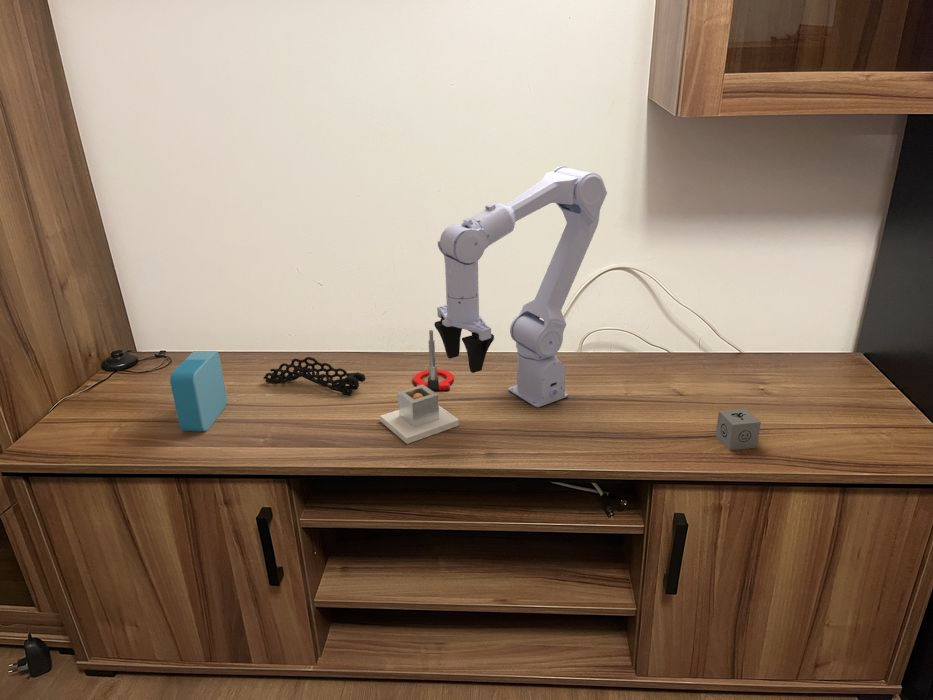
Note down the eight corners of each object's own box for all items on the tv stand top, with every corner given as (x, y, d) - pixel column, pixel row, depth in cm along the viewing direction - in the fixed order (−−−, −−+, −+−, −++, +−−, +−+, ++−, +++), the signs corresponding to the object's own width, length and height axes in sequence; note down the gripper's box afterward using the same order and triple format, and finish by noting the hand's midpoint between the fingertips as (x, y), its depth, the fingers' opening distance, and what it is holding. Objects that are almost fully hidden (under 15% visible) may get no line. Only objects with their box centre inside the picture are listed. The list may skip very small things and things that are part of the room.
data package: (206, 403, 143) (195, 348, 138) (228, 403, 142) (218, 348, 137) (180, 434, 132) (168, 375, 127) (204, 434, 131) (193, 375, 126)
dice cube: (742, 433, 127) (746, 408, 125) (756, 447, 123) (760, 422, 121) (715, 435, 127) (718, 410, 125) (729, 450, 122) (732, 425, 120)
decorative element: (261, 387, 149) (257, 361, 147) (274, 376, 154) (271, 351, 151) (360, 400, 143) (358, 373, 141) (371, 388, 147) (368, 363, 145)
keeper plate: (459, 425, 132) (458, 395, 130) (406, 444, 126) (404, 413, 124) (430, 404, 140) (429, 376, 137) (380, 421, 134) (378, 391, 132)
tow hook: (414, 375, 153) (412, 392, 145) (411, 317, 149) (409, 332, 140) (453, 373, 153) (454, 391, 145) (452, 316, 149) (452, 331, 140)
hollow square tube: (439, 419, 132) (438, 395, 130) (413, 427, 129) (412, 403, 127) (424, 407, 136) (422, 384, 134) (399, 416, 133) (397, 392, 131)
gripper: (421, 287, 130) (425, 356, 135) (466, 310, 119) (468, 383, 124) (454, 280, 133) (456, 347, 139) (500, 301, 122) (501, 373, 128)
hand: (464, 363), depth 132 cm, fingers open, 7 cm apart
